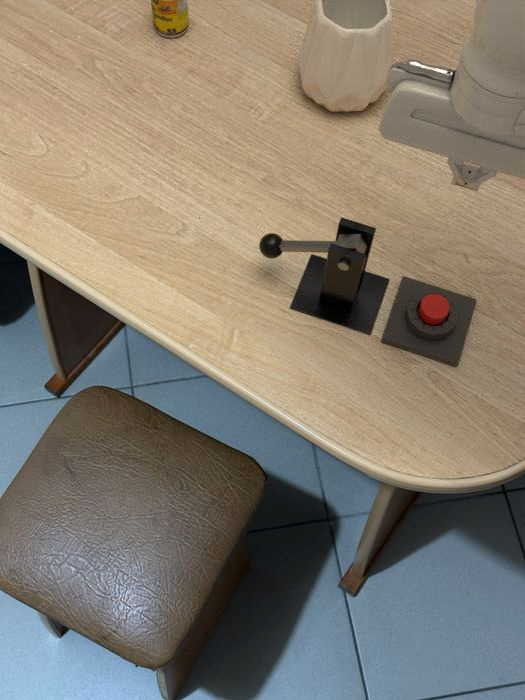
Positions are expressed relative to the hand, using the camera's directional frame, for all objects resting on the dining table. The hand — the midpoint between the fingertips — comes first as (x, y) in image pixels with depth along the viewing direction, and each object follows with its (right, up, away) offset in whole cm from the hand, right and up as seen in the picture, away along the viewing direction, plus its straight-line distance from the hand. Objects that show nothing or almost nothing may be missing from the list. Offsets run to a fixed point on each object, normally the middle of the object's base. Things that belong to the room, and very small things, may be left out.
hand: (465, 183), depth 88 cm
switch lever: (-15, -6, +17) cm, 23 cm away
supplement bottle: (-36, +34, +45) cm, 67 cm away
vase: (-9, +23, +41) cm, 47 cm away
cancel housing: (0, -14, +22) cm, 26 cm away
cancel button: (0, -13, +18) cm, 23 cm away
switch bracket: (-11, -11, +23) cm, 28 cm away
